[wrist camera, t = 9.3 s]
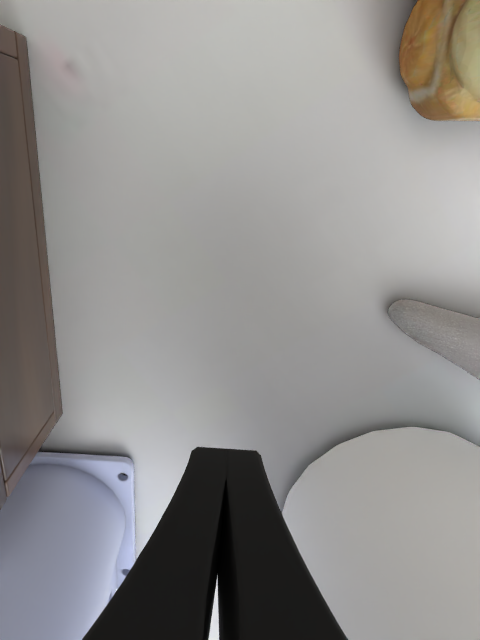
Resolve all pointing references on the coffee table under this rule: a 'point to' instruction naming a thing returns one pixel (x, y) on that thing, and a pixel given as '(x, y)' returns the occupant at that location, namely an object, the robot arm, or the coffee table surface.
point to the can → (394, 534)
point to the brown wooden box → (23, 277)
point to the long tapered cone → (441, 331)
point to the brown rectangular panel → (2, 490)
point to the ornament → (443, 59)
